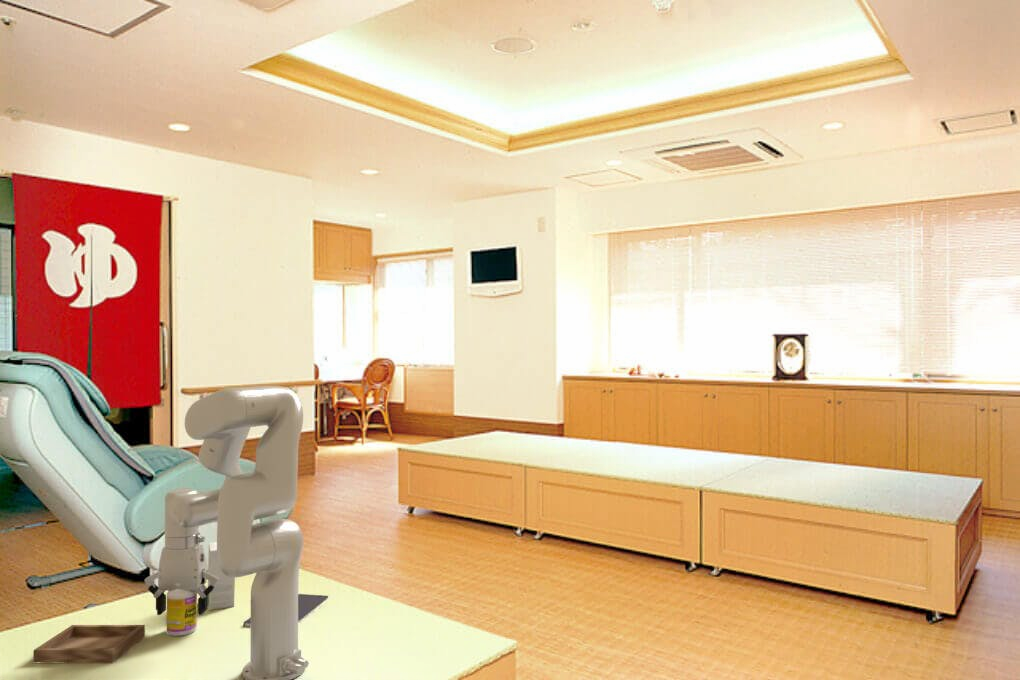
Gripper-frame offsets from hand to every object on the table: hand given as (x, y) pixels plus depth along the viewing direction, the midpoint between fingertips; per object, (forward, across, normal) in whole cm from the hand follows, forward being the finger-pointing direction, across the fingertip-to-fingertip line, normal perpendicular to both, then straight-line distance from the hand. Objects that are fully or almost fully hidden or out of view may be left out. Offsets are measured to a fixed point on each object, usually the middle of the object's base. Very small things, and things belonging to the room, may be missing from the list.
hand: (181, 613), depth 174 cm
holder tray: (+4, +16, +10) cm, 19 cm away
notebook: (+5, -22, -12) cm, 26 cm away
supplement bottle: (+5, 0, 0) cm, 5 cm away
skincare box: (+5, -2, -19) cm, 19 cm away
